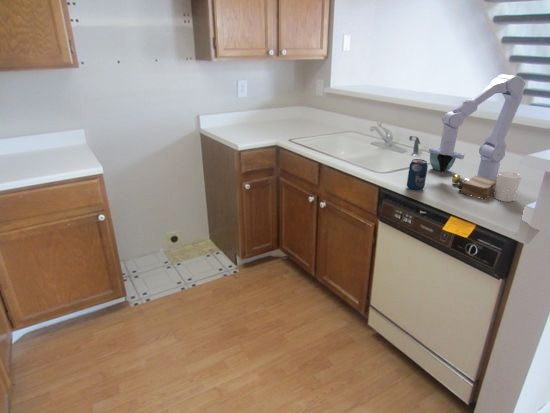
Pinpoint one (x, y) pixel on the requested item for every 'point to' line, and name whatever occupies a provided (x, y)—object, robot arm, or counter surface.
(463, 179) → the plunger
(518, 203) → the counter surface
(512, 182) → the white cup
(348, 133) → the counter surface
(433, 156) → the flower pot
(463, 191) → the catch block
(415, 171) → the soda can
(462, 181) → the plunger
